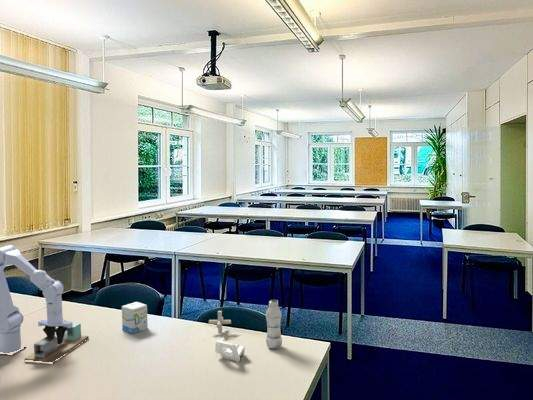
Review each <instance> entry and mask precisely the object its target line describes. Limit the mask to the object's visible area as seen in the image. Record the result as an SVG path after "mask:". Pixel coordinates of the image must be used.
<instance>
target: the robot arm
mask: <svg viewBox="0 0 533 400" xmlns="http://www.w3.org/2000/svg"><path fill="white" fill-rule="evenodd" d="M7 265H8V266H9V265H10V266H11V265H13V266H15V267H16V268H18V269H19V270H21V272H23V273H25V274H26V275H27V276H29V280H30V282H31V283H32V284H34V285H35V286H36V287H37V288H38V289H40V290H41V291H42V295H43V297H44V298H45V302H46V303H45V304H46V319H40V320H39V321H37V325H38V327H42V326H43V327H44V328H42V331H43V332H44V333H45V335H46V337H47V336H49V337H52V336H53V335H55V334H56V336H57V343H58V345H60V344H61V343H62V342H63V337H64V334H65V331H66V329H67V328H71V327H72V326H73V324H72V323H73V322H72V321H69V320H65V319H64V315H63V298H62V293H63V292H64V289H65V286H64V284H63V283H62V281H60V280H55V279H53V278H52V277H51V276H49V275H48V274H47V272H46V270H42V269H36V268H35V267H34V266H33V265H32V263H30V262H29V261H28V260H27V259H26V258H25V256H23V255H22V254H21V251H20V250H19V249H17V248H16V246H14V245H12V244H6V245H5V246H1V247H0V352H3V353H10V352H14V351H17V350H19V349H21V346H22V336H21V335H22V334H21V327H22V324H23V322H24V315H23V313H22V312H21V311H20V308H19V307H18V306H16V305H14V302H13V300H12V296H11V292H10V288H9V285H8V281H7V279H6V278H7V277H6V274H5V271H4V269H5V268H6V266H7Z"/></svg>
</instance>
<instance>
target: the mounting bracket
mask: <svg viewBox="0 0 533 400" xmlns="http://www.w3.org/2000/svg"><path fill="white" fill-rule="evenodd" d="M245 350H246V348H245V346H243V345H240V344H238V343H236V344H235V343H231V342H228V341H227V340H226V338H224V337H222V338H221V339H220V340H218V339H217V341H215V353H216V354H219V355H220V357H221V358H223V359H227V360H230V361H235V362H240V361H241V357H240V356H242V357H243V356H244V355H245Z"/></svg>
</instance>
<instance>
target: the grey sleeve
mask: <svg viewBox="0 0 533 400" xmlns="http://www.w3.org/2000/svg"><path fill="white" fill-rule="evenodd" d="M39 345H41V346H43V351H40V346H39ZM33 351H34V352H33V353H34V355H35V358H41V359H46V358H47V357H49V356H50V355H52V354H53V353H55V352H56V351H58V345H57V337H49V336H47V335H46V336H45V337H44V338H42V339H39V340H38V341H36V342H35V343H33Z"/></svg>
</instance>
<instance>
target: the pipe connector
mask: <svg viewBox="0 0 533 400" xmlns="http://www.w3.org/2000/svg"><path fill="white" fill-rule="evenodd" d="M222 315H223V310H218V311H217V319H209V320H208V324H209V325H216V328H217V331H218V332H217V333H218V334H222V333H223V325H229V324H230V325H232V320H231V319H224V316H222Z"/></svg>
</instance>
